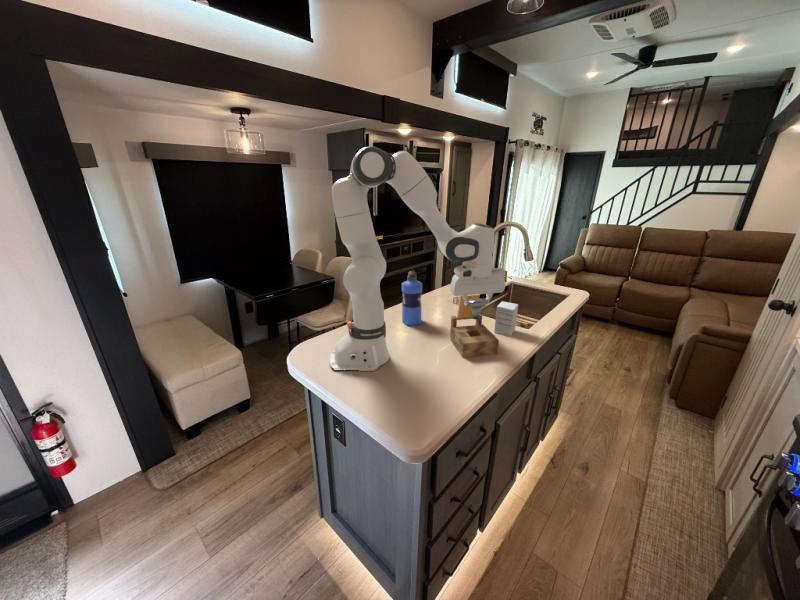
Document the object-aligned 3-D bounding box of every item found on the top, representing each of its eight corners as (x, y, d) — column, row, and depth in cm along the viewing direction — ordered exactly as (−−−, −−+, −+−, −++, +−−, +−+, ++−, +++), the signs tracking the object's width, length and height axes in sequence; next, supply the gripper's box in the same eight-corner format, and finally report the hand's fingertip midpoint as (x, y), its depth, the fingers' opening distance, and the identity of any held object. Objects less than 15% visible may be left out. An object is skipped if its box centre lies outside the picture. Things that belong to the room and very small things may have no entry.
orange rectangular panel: (460, 296, 121) (459, 294, 122) (457, 320, 127) (456, 318, 128) (480, 294, 123) (478, 293, 124) (475, 319, 129) (474, 317, 130)
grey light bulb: (470, 321, 116) (472, 304, 113) (464, 314, 121) (465, 298, 119) (486, 320, 117) (488, 302, 114) (479, 313, 122) (481, 297, 120)
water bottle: (401, 326, 142) (401, 273, 133) (402, 317, 151) (401, 268, 142) (421, 326, 142) (422, 273, 133) (421, 317, 151) (422, 268, 142)
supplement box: (498, 326, 141) (501, 300, 136) (515, 330, 137) (519, 304, 132) (493, 332, 135) (496, 306, 131) (510, 337, 131) (514, 309, 127)
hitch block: (462, 357, 116) (464, 333, 112) (448, 337, 131) (449, 316, 128) (497, 353, 118) (499, 330, 115) (479, 334, 133) (481, 313, 130)
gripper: (501, 265, 117) (498, 299, 122) (450, 268, 113) (448, 303, 118) (510, 269, 111) (505, 305, 116) (455, 273, 108) (454, 309, 113)
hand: (476, 304), depth 117 cm, fingers closed on grey light bulb, 6 cm apart
